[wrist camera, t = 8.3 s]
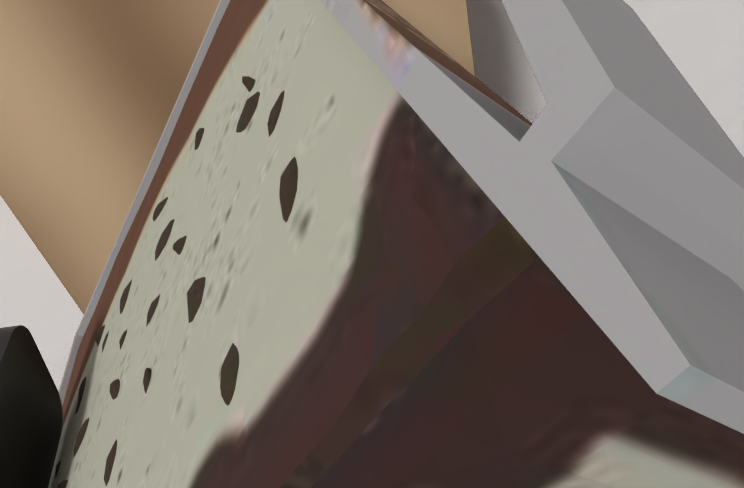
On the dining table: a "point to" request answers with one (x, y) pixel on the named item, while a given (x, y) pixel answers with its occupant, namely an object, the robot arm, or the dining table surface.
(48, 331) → the dining table surface
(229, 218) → the food container
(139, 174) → the oak block
